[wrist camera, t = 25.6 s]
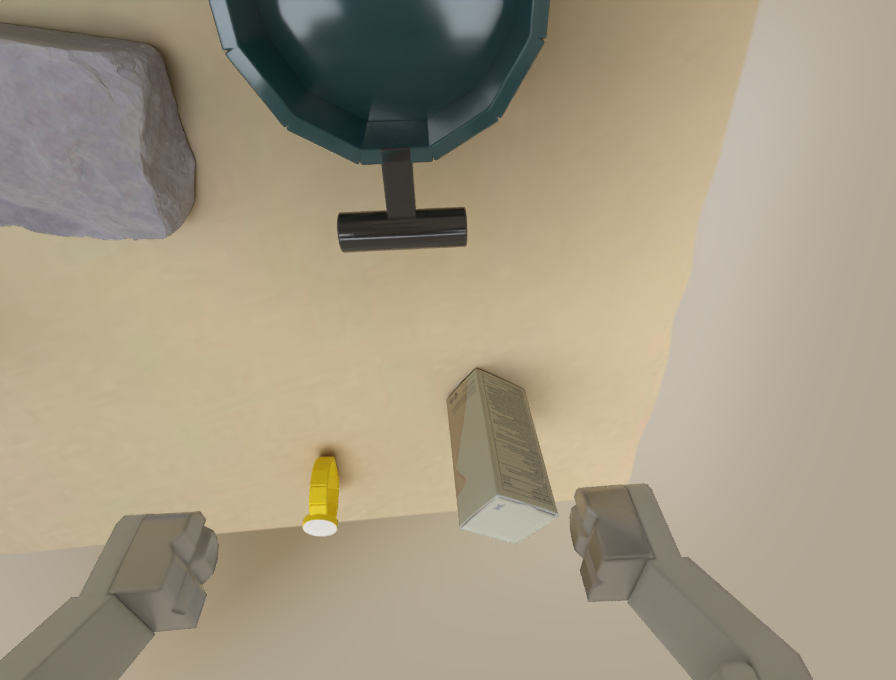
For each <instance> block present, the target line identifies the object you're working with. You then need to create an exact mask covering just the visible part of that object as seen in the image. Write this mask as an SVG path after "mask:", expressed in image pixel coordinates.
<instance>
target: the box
mask: <svg viewBox="0 0 896 680" xmlns="http://www.w3.org/2000/svg"><path fill="white" fill-rule="evenodd" d="M447 409H448V420H449V429H450V438H451V448H452V458H453V468H454V478H455V487H456V497H457V507H458V517H459V527H460V528H461V529H463V530H467V531H470V532H474V533H477V534H481V535H484V536H488V537H491V538H495V539H499V540H502V541H506V542H510V543H513V544H518V543H520V542H521V541H523V540H525V539H526V538H527V537H529V536H530V535H532V534H533V533H534V532H536V531H537V530H539V529H540V528H542V527H543V526H545V525H546V524H547V523H549V522H550V521H552V520H553V519H555V518H556V517H558V512H557V509H556V505H555V501H554V497H553V494H552V490H551V486H550V483H549V479H548V475H547V471H546V468H545V464H544V460H543V457H542V453H541V449H540V446H539V442H538V438H537V435H536V431H535V427H534V424H533V420H532V416H531V412H530V409H529V405H528V401H527V397H526V394H525V391H524V390H523V389H521V388H519V387H517V386H515V385H513V384H511V383H509V382H507V381H504V380H502V379H500V378H498V377H496V376H493V375H491V374H489V373H486V372H483V371H481V370H479V369H475V370H474V371H473V372H472V373H471V374H470V375H469V376H468V377H467V378H466V379H465V380H464V381H463V382H462V384H461V385H460V386H459V387H458V388H457V389H456V390H455V391H454V392H453V394H452V395H451V396H450V397H449V398H448V399H447Z"/></svg>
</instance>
